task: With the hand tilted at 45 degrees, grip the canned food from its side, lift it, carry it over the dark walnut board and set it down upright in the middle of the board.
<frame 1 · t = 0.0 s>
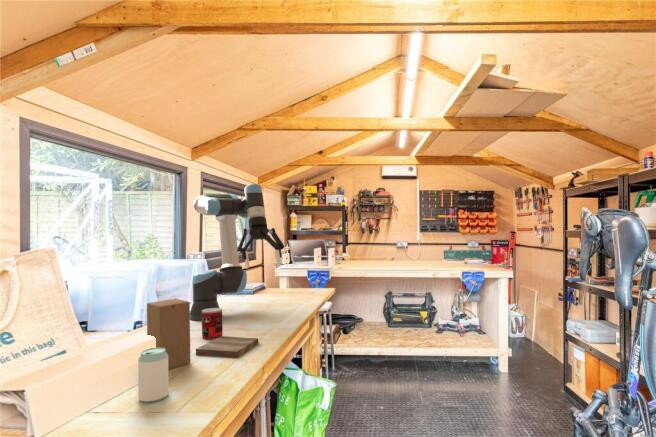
hand: (263, 266, 154), 28 cm above the workbench, tool tilted 20°, fingers open, 13 cm apart
can: (153, 398, 96), on the workbench
walnut board: (228, 348, 135), on the workbench
canned food: (212, 337, 152), on the workbench
wooden block: (169, 364, 121), on the workbench
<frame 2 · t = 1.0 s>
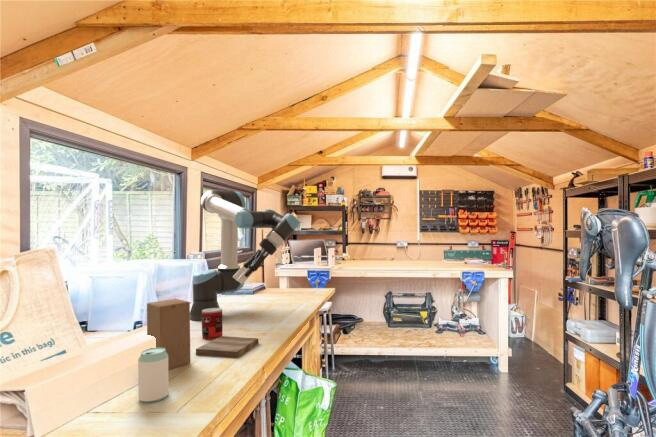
hand: (236, 280, 156), 22 cm above the workbench, tool tilted 45°, fingers open, 13 cm apart
nothing on the workbench moved.
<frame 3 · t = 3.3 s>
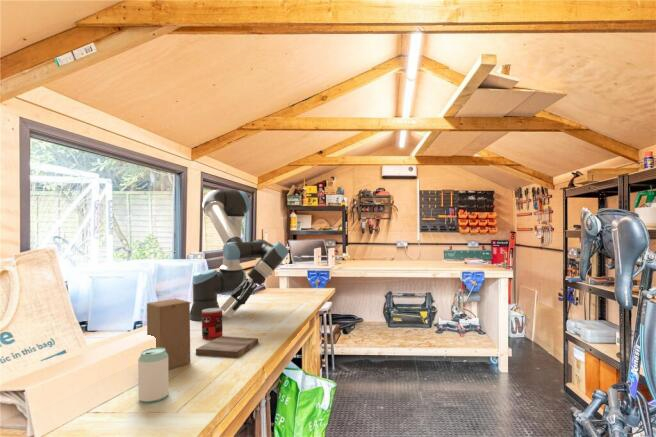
hand: (224, 312, 153), 9 cm above the workbench, tool tilted 45°, fingers open, 13 cm apart
nothing on the workbench moved.
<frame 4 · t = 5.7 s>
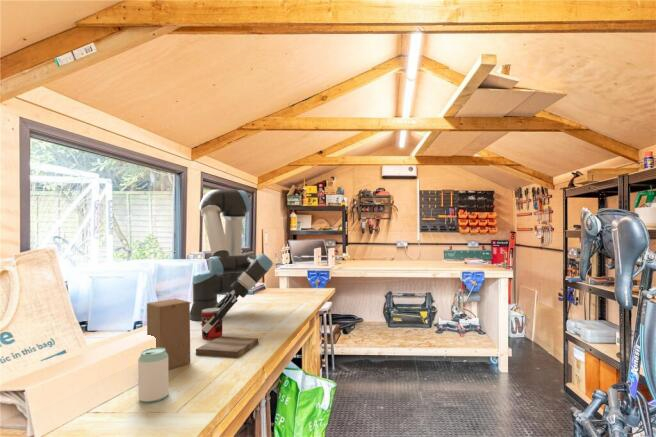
hand: (203, 328, 151), 4 cm above the workbench, tool tilted 45°, fingers closed on canned food, 8 cm apart
canned food: (212, 337, 152), on the workbench, touching gripper
everything else where it was.
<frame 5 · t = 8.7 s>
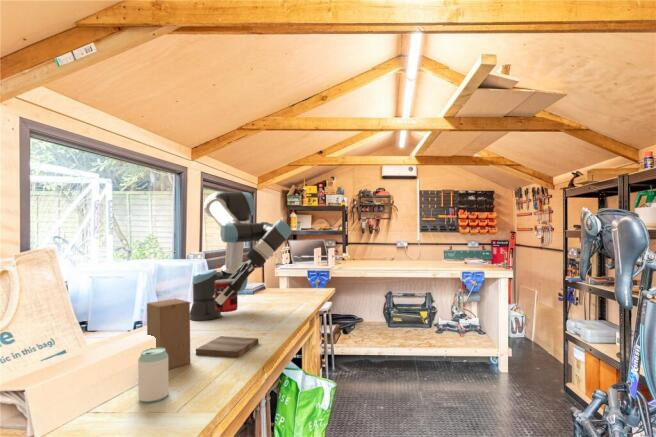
hand: (216, 300, 136), 17 cm above the workbench, tool tilted 45°, fingers closed on canned food, 8 cm apart
canned food: (226, 310, 137), point 14 cm above the workbench, touching gripper
everything else where it was.
when the fingers open (7 cm above the workbench, at t = 11.9 s): canned food drops 1 cm, resting on walnut board.
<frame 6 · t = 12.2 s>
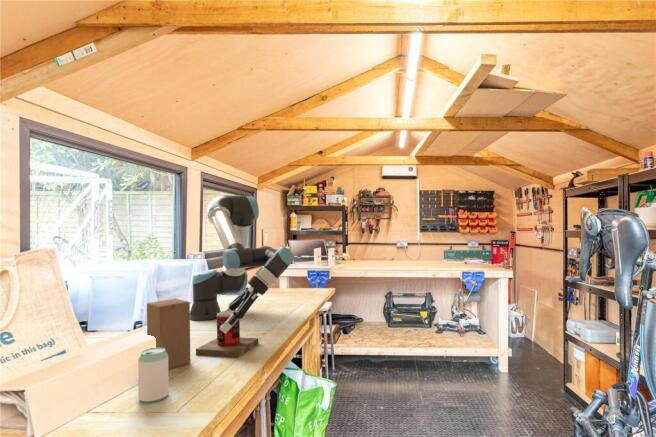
hand: (220, 327, 135), 8 cm above the workbench, tool tilted 45°, fingers open, 11 cm apart
canned food: (228, 343, 135), point 2 cm above the workbench, touching walnut board
everything else where it was.
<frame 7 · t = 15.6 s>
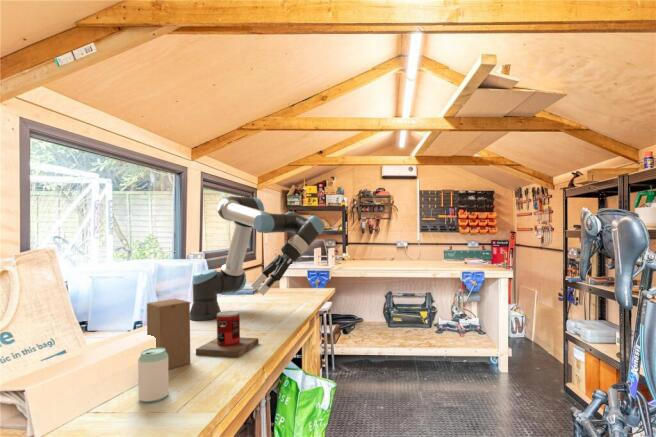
hand: (256, 290, 140), 20 cm above the workbench, tool tilted 45°, fingers open, 13 cm apart
nothing on the workbench moved.
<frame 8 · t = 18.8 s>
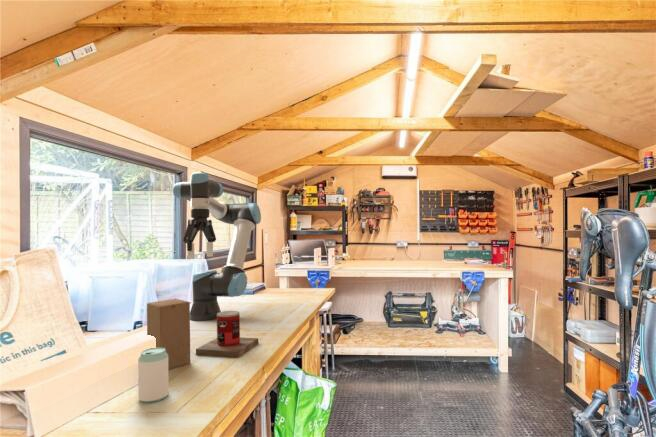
hand: (200, 257, 161), 32 cm above the workbench, tool pointing down, fingers open, 13 cm apart
nothing on the workbench moved.
at the end: canned food inside the target area on the walnut board (0.2 cm from its centre), point 1.8 cm above the walnut board's base; canned food tilted 0°; the gripper is holding nothing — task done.
